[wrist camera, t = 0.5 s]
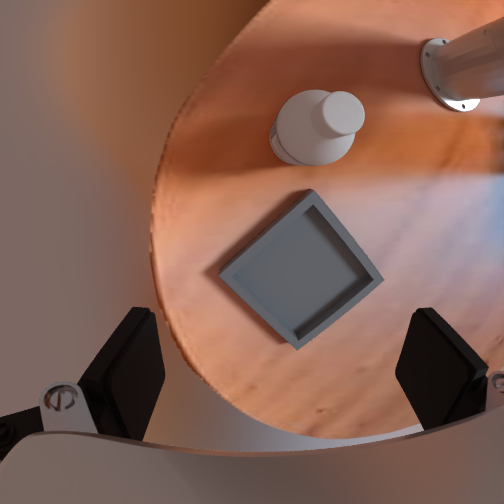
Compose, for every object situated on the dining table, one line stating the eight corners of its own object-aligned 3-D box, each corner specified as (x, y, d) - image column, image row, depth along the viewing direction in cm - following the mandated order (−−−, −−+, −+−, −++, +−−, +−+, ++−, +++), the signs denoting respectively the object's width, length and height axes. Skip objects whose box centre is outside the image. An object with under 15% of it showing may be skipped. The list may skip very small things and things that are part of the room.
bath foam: (312, 106, 34) (371, 54, 15) (330, 156, 36) (406, 152, 16) (261, 121, 34) (271, 75, 15) (279, 172, 36) (310, 180, 17)
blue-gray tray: (310, 188, 37) (314, 190, 34) (377, 273, 40) (384, 279, 38) (220, 269, 40) (218, 275, 38) (295, 340, 43) (297, 350, 41)
